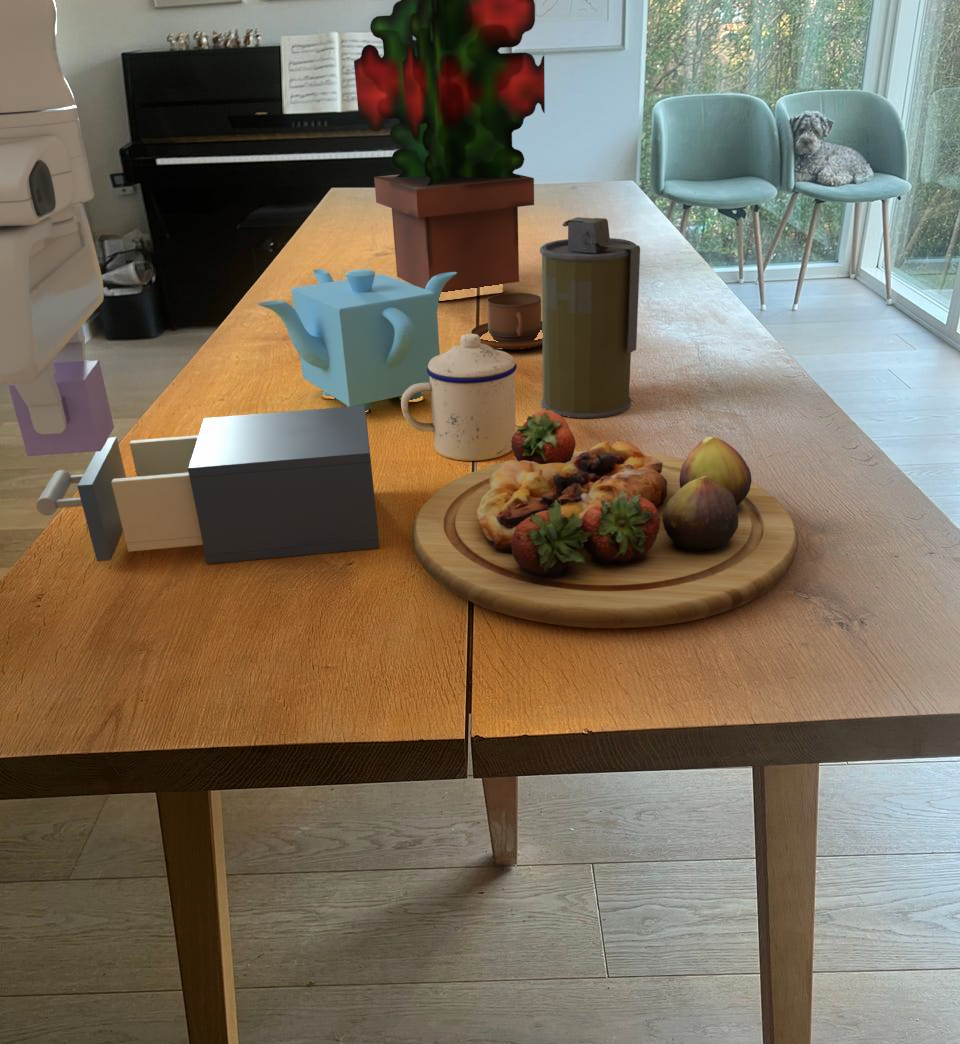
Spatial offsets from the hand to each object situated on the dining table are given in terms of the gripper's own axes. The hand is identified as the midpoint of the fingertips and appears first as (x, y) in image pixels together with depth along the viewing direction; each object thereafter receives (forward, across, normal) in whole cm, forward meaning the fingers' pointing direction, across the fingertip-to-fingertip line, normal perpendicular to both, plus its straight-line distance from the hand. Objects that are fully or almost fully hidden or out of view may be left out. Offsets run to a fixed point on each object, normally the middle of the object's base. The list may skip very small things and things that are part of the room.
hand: (64, 415), depth 63 cm
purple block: (+2, 0, 0) cm, 2 cm away
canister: (+18, -49, +44) cm, 68 cm away
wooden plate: (+18, -13, +37) cm, 43 cm away
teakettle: (+18, -59, +19) cm, 65 cm away
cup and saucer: (+18, -77, +40) cm, 89 cm away
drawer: (+18, -22, 0) cm, 28 cm away
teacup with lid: (+18, -38, +28) cm, 51 cm away
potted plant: (+18, -113, +36) cm, 120 cm away
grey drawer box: (+18, -22, +11) cm, 31 cm away
